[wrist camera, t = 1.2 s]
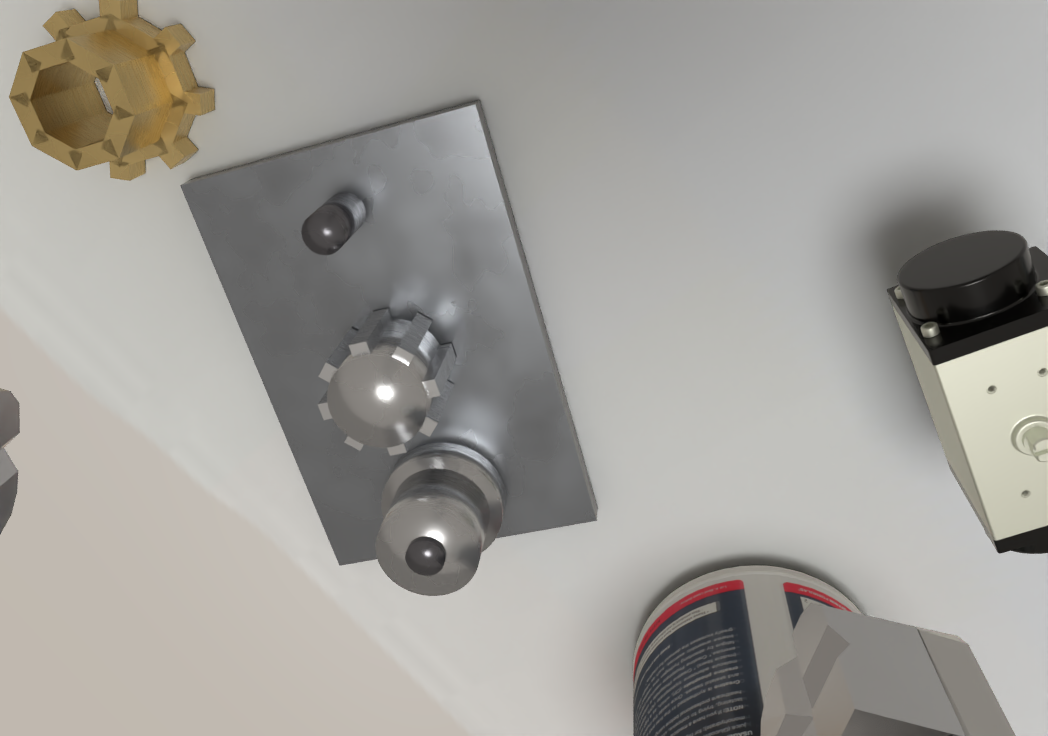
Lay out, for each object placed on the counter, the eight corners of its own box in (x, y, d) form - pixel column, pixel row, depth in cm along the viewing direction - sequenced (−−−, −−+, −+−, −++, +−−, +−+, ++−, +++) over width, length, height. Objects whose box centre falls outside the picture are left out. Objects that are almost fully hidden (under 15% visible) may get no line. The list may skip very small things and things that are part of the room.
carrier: (191, 179, 44) (120, 218, 38) (479, 99, 42) (452, 128, 36) (345, 552, 52) (307, 634, 46) (597, 507, 49) (591, 588, 43)
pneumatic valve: (930, 443, 46) (1019, 603, 35) (851, 224, 42) (924, 327, 31) (1051, 403, 44) (1184, 557, 34) (981, 172, 41) (1106, 261, 30)
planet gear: (22, 26, 42) (-51, 37, 38) (170, -23, 41) (112, -16, 36) (95, 186, 45) (35, 215, 41) (236, 147, 44) (190, 172, 39)
